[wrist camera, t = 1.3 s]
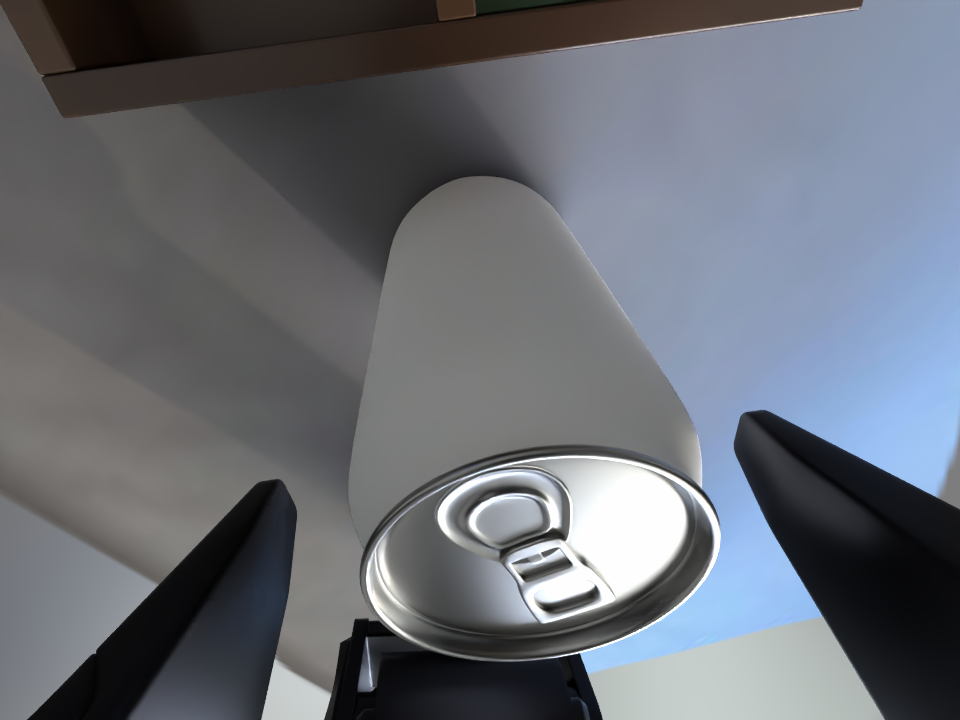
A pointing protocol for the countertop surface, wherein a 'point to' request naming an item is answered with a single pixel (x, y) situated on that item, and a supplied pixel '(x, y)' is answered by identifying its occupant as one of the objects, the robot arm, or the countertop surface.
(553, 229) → the can
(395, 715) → the robot arm
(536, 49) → the divided wooden tray
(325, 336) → the countertop surface
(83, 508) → the countertop surface
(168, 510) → the countertop surface
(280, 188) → the countertop surface
